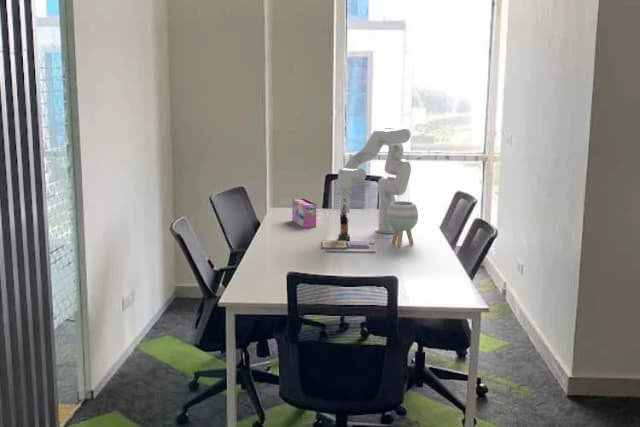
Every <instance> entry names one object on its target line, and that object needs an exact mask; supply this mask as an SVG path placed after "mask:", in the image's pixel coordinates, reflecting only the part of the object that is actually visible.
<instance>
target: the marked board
mask: <svg viewBox="0 0 640 427" xmlns="http://www.w3.org/2000/svg"><path fill="white" fill-rule="evenodd" d="M321 249H322V250H348V244H347V241H340V240H326V239H325V240H321Z"/></svg>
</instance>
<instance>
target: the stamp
mask: <svg viewBox="0 0 640 427" xmlns="http://www.w3.org/2000/svg"><path fill="white" fill-rule="evenodd" d="M339 221H340V223H341V219H340V218H339ZM339 230H340V231H339V232H340V233H338V235H337V236H338V241H340V240H350V239H351V238H350V237H351V235H350V233H349V218H348V217H347V224H346V225H341V224H340V229H339ZM350 241H351V240H350Z"/></svg>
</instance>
